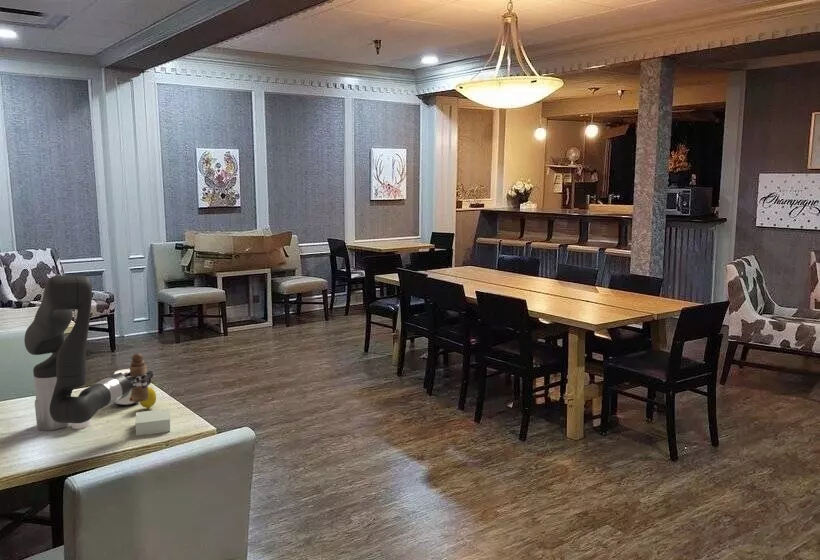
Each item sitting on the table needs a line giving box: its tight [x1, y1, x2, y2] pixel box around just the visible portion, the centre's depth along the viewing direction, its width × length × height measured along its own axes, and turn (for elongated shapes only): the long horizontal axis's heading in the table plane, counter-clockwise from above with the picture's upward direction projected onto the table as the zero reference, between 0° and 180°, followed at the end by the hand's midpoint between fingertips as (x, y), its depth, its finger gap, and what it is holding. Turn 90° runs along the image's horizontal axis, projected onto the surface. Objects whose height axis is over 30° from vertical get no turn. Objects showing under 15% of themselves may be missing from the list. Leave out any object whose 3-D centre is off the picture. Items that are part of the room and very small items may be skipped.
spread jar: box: [112, 368, 139, 408], centre depth 238 cm, size 12×11×12 cm
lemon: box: [139, 386, 157, 410], centre depth 231 cm, size 6×6×8 cm
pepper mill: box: [129, 352, 149, 403], centre depth 210 cm, size 5×5×15 cm
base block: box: [135, 408, 171, 436], centre depth 215 cm, size 10×10×4 cm
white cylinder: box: [70, 418, 92, 430], centre depth 217 cm, size 7×7×7 cm
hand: (143, 373), depth 213 cm, fingers closed on pepper mill, 4 cm apart
